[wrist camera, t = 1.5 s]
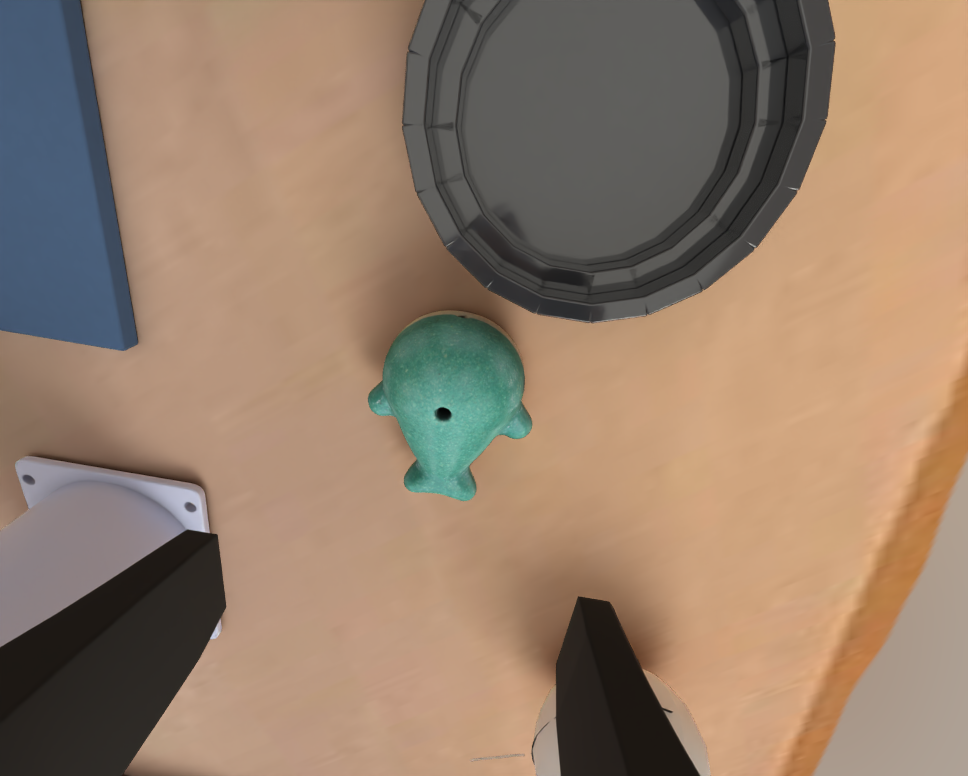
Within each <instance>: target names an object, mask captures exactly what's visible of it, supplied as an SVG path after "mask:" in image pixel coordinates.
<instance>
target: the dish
mask: <svg viewBox="0 0 968 776" xmlns="http://www.w3.org/2000/svg"><path fill="white" fill-rule="evenodd" d="M834 39H835V32H834V27H833V22H832V17H831V12H830V7H829V2H828V0H424V3H423V6H422V9H421V12H420V15H419V17H418V20H417V23H416V26H415V29H414V32H413V34H412V37H411V40H410V43H409V46H408V50H409V51H408V52H407V56H406V71H405V86H404V101H403V116H402V124H403V126H402V130H403V135H404V139H405V144H406V149H407V154H408V158H409V163H410V168H411V173H412V178H413V182H414V187H415V191H416V192H417V196H418V198H419V200H420V201H421V203H422V205H423V207H424V209H425V211H426V213H427V215H428V216H429V218H430V220H431V222H432V224H433V226H434V228H435V230H436V231H437V233H438V235H439V237H440V239H441V241H442V243H443V245H444V246H445V247H446V249H447V250H448V251H449V252H450V253H451V254H452V255H453V256H454V257H455V258H456V259H457V260H458V261H459V262H460V263H461V264H462V265H463V266H464V267H465V268H466V269H467V270H468V271H469V272H470V273H471V274H472V275H473V276H474V277H475V278H476V279H477V280H478V281H479V282H480V283H481V284H482V285H483V286H484V287H485V288H487V289H488V290H489V291H491V292H493V293H495V294H497V295H499V296H501V297H503V298H505V299H507V300H509V301H511V302H513V303H515V304H517V305H519V306H520V307H522V308H524V309H526V310H528V311H530V312H532V313H535V314H536V313H537V314H538V315H543V316H549V317H555V318H561V319H567V320H573V321H579V322H585V323H590V322H591V323H598V322H606V321H613V320H621V319H628V318H636V317H643V316H647V314H648V315H650V314H653V313H655V312H657V311H659V310H662V309H664V308H666V307H669V306H671V305H673V304H675V303H678V302H680V301H682V300H685V299H687V298H689V297H691V296H694V295H696V294H698V293H700V292H702V291H703V290H705V289H707V288H708V287H709V286H711V285H712V284H713V283H714V282H716V281H717V280H718V279H719V278H721V277H722V276H723V275H724V274H726V273H727V272H728V271H729V270H730V269H732V268H733V267H734V266H735V265H737V264H738V263H739V262H740V261H742V260H743V259H744V258H745V257H747V256H748V255H749V254H750V253H752V252H753V251H754V248H757V247H758V245H759V244H760V243H761V241H762V240H763V239H764V237H765V236H766V235H767V233H768V232H769V231H770V229H771V228H772V226H773V225H774V224H775V222H776V221H777V220H778V218H779V217H780V216H781V214H782V213H783V212H784V210H785V209H786V208H787V206H788V205H789V204H790V202H791V201H792V199H793V198H794V197H795V195H796V194H797V191H798V190H799V189H800V187H801V184H802V182H803V179H804V177H805V174H806V172H807V169H808V167H809V164H810V162H811V159H812V157H813V154H814V152H815V149H816V147H817V144H818V142H819V139H820V137H821V134H822V132H823V129H824V127H825V124H826V120H825V119H827V116H828V108H829V99H830V90H831V80H832V71H833V62H834V53H835V44H836V43H835V41H833V40H834Z"/></svg>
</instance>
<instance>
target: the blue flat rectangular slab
mask: <svg viewBox="0 0 968 776" xmlns="http://www.w3.org/2000/svg"><path fill="white" fill-rule="evenodd" d="M0 330H2V331H8V332H14V333H20V334H26V335H32V336H37V337H43V338H49V339H55V340H61V341H67V342H73V343H79V344H85V345H91V346H97V347H103V348H109V349H115V350H121V351H124V350H127V349H129V348H131V347H133V346H135V345H137V344H138V339H137V333H136V328H135V322H134V316H133V310H132V304H131V298H130V292H129V286H128V281H127V275H126V269H125V263H124V257H123V251H122V245H121V239H120V234H119V228H118V222H117V216H116V210H115V204H114V198H113V192H112V186H111V181H110V175H109V169H108V163H107V157H106V151H105V145H104V139H103V134H102V128H101V122H100V116H99V110H98V104H97V98H96V92H95V86H94V81H93V75H92V69H91V63H90V57H89V51H88V45H87V39H86V34H85V28H84V22H83V16H82V10H81V4H80V0H0Z"/></svg>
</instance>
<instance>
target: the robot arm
mask: <svg viewBox="0 0 968 776" xmlns="http://www.w3.org/2000/svg"><path fill="white" fill-rule="evenodd" d="M15 469H16V472H17V475H18V478H19V481H20V484H21V487H22V490H23V493H24V496H25V499H26V502H27V505H28V509H29V510H27V511H26V512H25V513H23V514H22V515H21V516H19V517H18V518H16V519H15V520H14V521H12V522H11V523H9V524H8V525H7V526H5V527H4V528H2V529H1V530H0V776H122V775H123V773H124V772H125V770H126V769H127V767H128V766H129V764H130V763H131V761H132V760H133V758H134V757H135V755H136V754H137V752H138V751H139V749H140V748H141V746H142V745H143V743H144V742H145V740H146V739H147V737H148V736H149V734H150V733H151V731H152V730H153V728H154V727H155V725H156V724H157V722H158V721H159V719H160V718H161V716H162V715H163V713H164V712H165V710H166V709H167V707H168V706H169V704H170V703H171V701H172V700H173V698H174V697H175V695H176V694H177V692H178V691H179V689H180V688H181V686H182V685H183V683H184V682H185V680H186V679H187V677H188V676H189V674H190V673H191V671H192V669H193V668H194V666H195V665H196V663H197V662H198V660H199V658H200V657H201V655H202V653H203V651H204V649H205V647H206V645H207V644H208V642H209V640H210V639H215V638H217V637H218V636H219V634H220V632H221V630H222V626H221V616H222V614H223V612H224V610H225V608H226V600H225V592H224V584H223V576H222V567H221V559H220V551H219V543H218V535H217V534H212V533H210V530H209V521H208V513H207V505H206V497H205V493H204V490H203V489H202V488H201V487H200V486H198V485H196V484H193V483H188V482H182V481H176V480H170V479H164V478H158V477H152V476H146V475H140V474H134V473H128V472H123V471H117V470H111V469H105V468H99V467H93V466H87V465H81V464H75V463H69V462H64V461H58V460H52V459H46V458H40V457H34V456H25V457H23V458H21V459H20V460H18V461H16V463H15ZM192 503H193V504H194V505H193V504H192ZM556 728H557V740H558V751H559V762H560V773H561V776H700V774H699V772H698V771H697V769H696V767H695V765H694V764H693V762H692V760H691V759H690V757H689V755H688V754H687V752H686V750H685V748H684V746H683V745H682V743H681V741H680V739H679V738H678V736H677V734H676V732H675V730H674V729H673V727H672V725H671V723H670V721H669V719H668V717H667V716H666V714H665V712H664V710H663V708H662V706H661V704H660V703H659V701H658V699H657V697H656V695H655V693H654V691H653V689H652V688H651V686H650V684H649V682H648V680H647V678H646V676H645V674H644V672H643V670H642V668H641V666H640V664H639V662H638V660H637V658H636V656H635V654H634V651H633V649H632V647H631V645H630V643H629V641H628V639H627V637H626V635H625V632H624V630H623V628H622V626H621V624H620V622H619V619H618V617H617V615H616V613H615V610H614V608H613V606H612V605H611V604H610V602H608V601H602V600H597V599H591V598H585V597H579V596H578V598H577V601H576V605H575V608H574V611H573V614H572V617H571V620H570V623H569V626H568V629H567V632H566V635H565V638H564V642H563V645H562V648H561V651H560V654H559V657H558V660H557V663H556Z"/></svg>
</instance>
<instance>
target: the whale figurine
mask: <svg viewBox="0 0 968 776" xmlns="http://www.w3.org/2000/svg"><path fill="white" fill-rule="evenodd" d="M524 385H525V376H524V367H523V362H522V358H521V355H520V353H519V350H518V348H517V347H516V345H515V343H514V342H513V340H512V339H511V337H510V336H509V335H508V334H507V333H506V332H505V331H504V330H503V329H502V328H501V327H500V326H498V325H497V324H495V323H494V322H493V321H491V320H489V319H487V318H485V317H482V316H480V315H477V314H473V313H469V312H463V311H455V310H445V311H437V312H432V313H429V314H426V315H424V316H421V317H419V318H417V319H416V320H414V321H413V322H411V323H410V324H409V325H407V326H406V327H405V328H404V329H403V330H402V331H401V332H400V333H399V334H398V336H397V337H396V339H395V340H394V341H393V343H392V345H391V347H390V349H389V351H388V353H387V355H386V358H385V362H384V368H383V380H382V381H381V382H380V383H379V384H378V385H377V386H376V387H375V388H374V389H373V390H372V391H371V392H370V393H369V396H368V403H369V407H370V409H371V410H372V411H373V412H374V413H376V414H377V415H380V416H389V415H392V416H394V417H396V419H397V421H398V423H399V425H400V428H401V430H402V432H403V434H404V437H405V439H406V441H407V443H408V445H409V447H410V448H411V450H412V452H413V453H414V455H415V457H416V458H417V460H416V461H415V462H414V463H413V464H412V466H411V467H410V468H409V469H408V471H407V473H406V474H405V476H404V485H405V487H406V488H407V489H408V490H409V491H411V492H426V493H437V494H442V495H446V496H449V497H452V498H455V499H458V500H461V501H467V500H470V499H472V498H473V496H474V495H475V493H476V482H475V479H474V476H473V474H472V472H471V470H470V467H469V465H470V464H471V463H472V462H473V461H474V460H475V459H476V458H477V457H478V456H479V455H480V454H481V453H482V452H483V451H484V450H485V449H486V447H487V446H488V445H489V444H490V443H491V441H492V440H493V439H494V438H495V437H496V436H498V435H506V436H508V437H510V438H513V439H520V438H523V437H525V436H526V435H527V434H528V433H529V432H530V431H531V429H532V420H531V417H530V415H529V414H528V412H527V410H526V408H525V407H524V405H523V403H522V401H521V400H522V396H523V392H524Z"/></svg>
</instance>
